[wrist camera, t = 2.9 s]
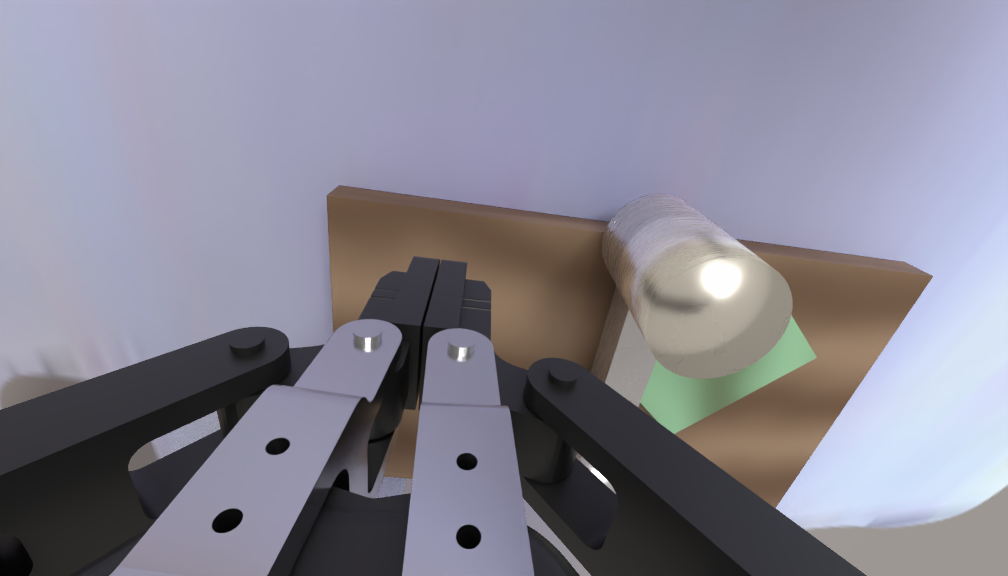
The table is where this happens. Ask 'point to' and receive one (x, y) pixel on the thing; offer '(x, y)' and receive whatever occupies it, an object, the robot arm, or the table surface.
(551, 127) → the table surface
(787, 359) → the board
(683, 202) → the lever
